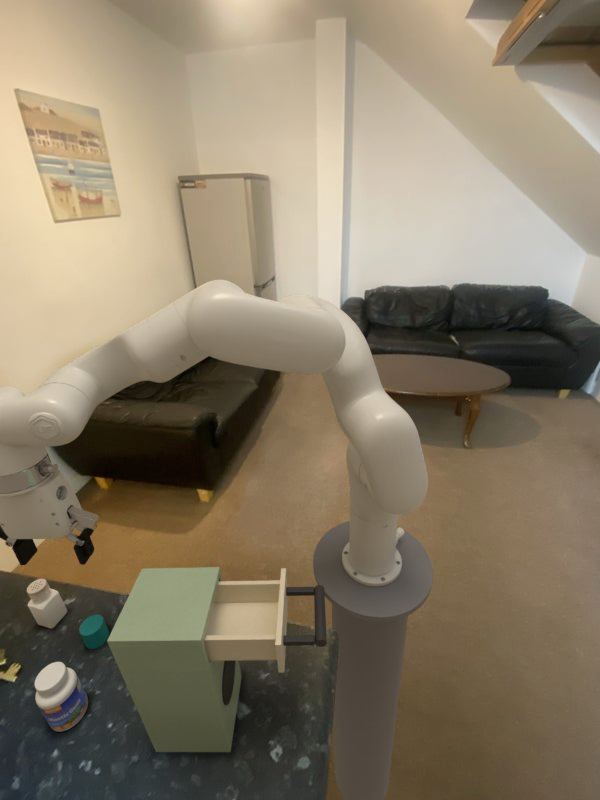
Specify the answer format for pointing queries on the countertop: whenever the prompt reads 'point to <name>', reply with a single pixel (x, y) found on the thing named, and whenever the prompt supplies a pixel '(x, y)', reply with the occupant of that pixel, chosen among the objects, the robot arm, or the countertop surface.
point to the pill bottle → (60, 696)
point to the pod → (94, 631)
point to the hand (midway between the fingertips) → (58, 557)
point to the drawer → (259, 620)
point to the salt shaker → (45, 604)
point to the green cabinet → (176, 661)
